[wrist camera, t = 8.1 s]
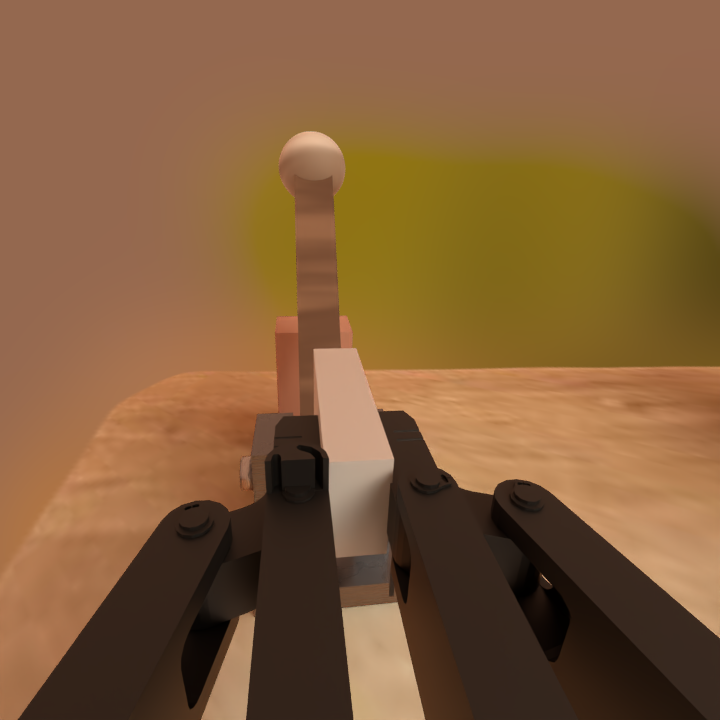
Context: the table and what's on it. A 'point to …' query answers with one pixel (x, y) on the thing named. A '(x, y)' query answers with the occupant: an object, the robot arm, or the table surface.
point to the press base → (355, 574)
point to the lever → (314, 247)
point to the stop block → (295, 360)
